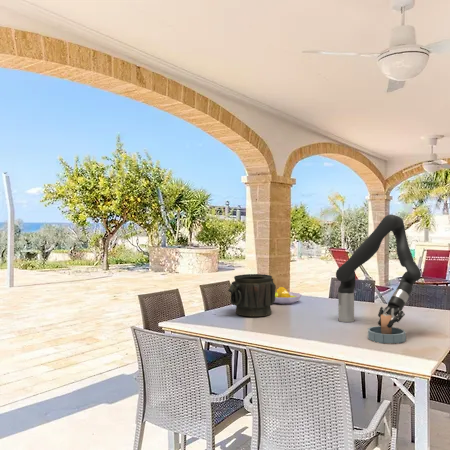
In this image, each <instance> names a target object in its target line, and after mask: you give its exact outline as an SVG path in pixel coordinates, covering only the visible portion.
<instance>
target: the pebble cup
mask: <svg viewBox="0 0 450 450" xmlns="http://www.w3.org/2000/svg"><path fill="white" fill-rule="evenodd" d="M390 320H391V315H389V314H381V334H392V327H393V326H392V327H391V328H388V326H387V325H388V323H389V321H390Z"/></svg>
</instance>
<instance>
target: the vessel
mask: <svg viewBox="0 0 450 450" xmlns="http://www.w3.org/2000/svg"><path fill="white" fill-rule="evenodd" d="M233 279H234V280H233V281H232V282H231V284H230V287H229V288H228V290H227V291H228V292H229V293H230V304H232V305H233V306H235V314H236V315H240V316H243V317H265V316H266V317H267V316H270V315H271V314H272V309H271V306H273V304H275V303H274V301H275V292H276V290H277V289H276V287H277V286H276V284H275V282H274V278H273V276H272V275H270V274H265V273H264V274H263V273H246V274H238V275H234V276H233Z"/></svg>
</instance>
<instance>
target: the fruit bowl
mask: <svg viewBox="0 0 450 450" xmlns="http://www.w3.org/2000/svg"><path fill="white" fill-rule="evenodd" d="M301 297H302V294H300V293H299V292H293V291H288V289H287V288H285V287H284V286H279V287H278V288H277V289H276V290H275V301H274V303H273V304H279V305H288V304H294V303H296V302H298V301H299V300H300V298H301Z"/></svg>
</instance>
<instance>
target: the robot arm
mask: <svg viewBox="0 0 450 450" xmlns="http://www.w3.org/2000/svg"><path fill="white" fill-rule="evenodd" d="M390 232H391V233H392V234H393V236H394V238H395V244H396V255H397V257H398V261H399V263H400V265H401V267H404V268H405V270H406V271H405V272H404V273H403V275H402V277H401V278H400V281H399V284H398V286H397V288H395V290H394V292H393V293H392V295H391V297H390V299H389V300H388V302H387V306H385V307H383V306H380V309H379V311H378V314H377V316H378V317H379V319H378V321H377V324H378V325H377V326H381V314H389V315H391V320H390V321H389V323H388V325H387V326H388V328H391V327H394V323H399V322H401V320H402V319H403V318H404V316H405V315H406V314H405V312H404V310H403V308H404V307H405V305H406V303H407V302H408V299H409V297H410V295H411V293H412V291H413V285H414V284H415V283H416V282H418V281H419V280H420V279H421V278H422V273H421V272H422V271H421V270H420V268H419V266H418V265H417V263H416V262H415V261H414V258H413V254H412V252H411V250H410V246H409V243H408V239H407V234H406V227H405V222H404V220H403V218H402V217H401V216H398V215H395V214H387V215H385V216H384V217H383V218H382V220H381V221H380V222H379V223H378V225H377V227H376V228H375V229H374V230H373V231H372V233H370V235H369V236H368V237H367V238H366V239H365V240H364V241H363V243H361V244H360V246H358V248H357V249H356V250H355V251H354V252H353V253H352V255H351V256H350V257H349V258H348V259H347V260H346V261H345V262H344V263H343V264H342V265H340V266H339V267H338V268H337V270H336V272H335V278H336V280H337V281H339V282H340V285H339V287H338V288H337V290H338V291H337V292H338V295H337V296H338V300H337V301H338V304H337V305H338V308H337V310H338V311H337V312H338V314H337V315H338V322H341V323H342V322H343V323H354V321H355V288H356V270H357V269H358V268H359V267H361V266H362V265H364V264H365V263H366V262H368V261H369V260H370V259H371V258H372V257H374V256H375V255H376V253H377V252H378V251H379V248H380V247H381V244H382V242H383V239H384V238H385V237H387V235H388V234H390Z"/></svg>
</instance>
